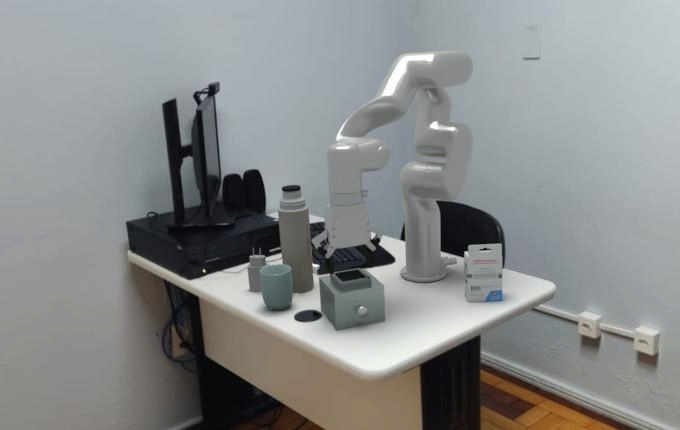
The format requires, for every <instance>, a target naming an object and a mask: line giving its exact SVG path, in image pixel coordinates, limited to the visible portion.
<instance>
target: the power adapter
mask: <svg viewBox="0 0 680 430" xmlns="http://www.w3.org/2000/svg"><path fill="white" fill-rule="evenodd" d="M258 251H259V254H255V248H254V247H252V255H249V264H248V265H247V277H248V285H249V286H248V287H249V292H250V293H262V292H261V284H260V269H261V268H263V267H265V266H268V265H270V263H268V262H267V260H266V256H265V255H262V250H261V247H259V250H258Z"/></svg>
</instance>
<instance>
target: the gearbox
mask: <svg viewBox="0 0 680 430" xmlns="http://www.w3.org/2000/svg"><path fill="white" fill-rule="evenodd" d="M318 283H319V299H320V311H321V312H322V314H323V315H324V316H325V318H326V319H327V320H328V321H329V322H330V324H331V325H332V327H333V328H334V330H335V331H340V330H341V331H342V330H344V329H345V330H346V329H350V328H355V327H361V326H366V325H371V324H375V323H381V322H385V321H386V302H385V300H386V299H385V285H384V284H383V282H381V281H380V280H379V279H377V278H376V277H375V276H374V275H373V274H372V273H371V272H370V271H368V269H366V268H363V269H362V268H361V267H356V268H350V269H345V270H339V271H334V273H333V274H330V273H329V275H321V276H318Z"/></svg>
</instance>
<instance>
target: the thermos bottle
mask: <svg viewBox="0 0 680 430" xmlns="http://www.w3.org/2000/svg"><path fill="white" fill-rule="evenodd" d="M301 187H302V186H301V185H299V184H289V185H288V184H287V185H284V186H281V191H282V197H281V198H280V199H279V207H278V208H277V217H278V227H279V228H278V229H279V239H280V240H279V241H280V251H281V261H282V264H285V265H289V266H290V267H291V269H292V279H293V294H302V293H307V292H310V291H312V290H314V287H315V283H314V281H315V280H314V273H313V266H312V263H313V254H312V253H313V251H312V252H311V249H312V239H311V224H310V213H309V211H310V210H309V206H308V205H307V204H306V203H307V201H306V198H305V197H304V196H302V190H301V189H302V188H301Z"/></svg>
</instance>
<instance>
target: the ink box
mask: <svg viewBox="0 0 680 430" xmlns="http://www.w3.org/2000/svg"><path fill="white" fill-rule="evenodd" d="M485 248H486V249H487V250H483V249H485ZM463 252H464V253H463V257H464V259H463V260H464V264H463V268H464V269H463V270H464V271H463V272H464V279H463V280H464V296H465V298H466V300H467V302H469V303H477V302H478V303H479V302H482V303H483V302H494V301H495V302H496V301H497V302H499V301H503V244H502V243H488V244H487V243H486V244H484V243H483V244H469V245H468V247H467V250H466V251H463Z"/></svg>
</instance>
